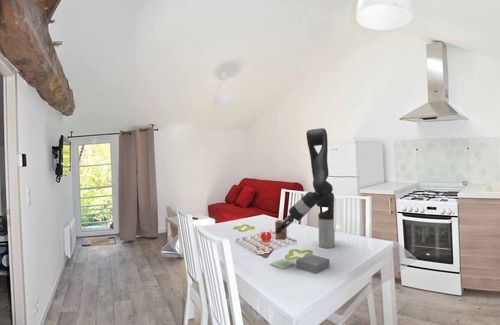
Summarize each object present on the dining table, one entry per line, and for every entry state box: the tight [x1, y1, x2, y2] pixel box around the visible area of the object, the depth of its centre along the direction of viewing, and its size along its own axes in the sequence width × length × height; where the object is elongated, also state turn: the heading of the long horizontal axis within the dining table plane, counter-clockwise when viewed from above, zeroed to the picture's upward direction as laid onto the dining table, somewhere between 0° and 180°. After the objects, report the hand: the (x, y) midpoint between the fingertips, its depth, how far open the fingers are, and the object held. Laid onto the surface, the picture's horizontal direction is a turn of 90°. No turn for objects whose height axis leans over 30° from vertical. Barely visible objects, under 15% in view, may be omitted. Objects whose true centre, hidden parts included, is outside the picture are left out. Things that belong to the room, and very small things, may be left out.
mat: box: [269, 258, 295, 270], centre depth 170 cm, size 9×9×1 cm
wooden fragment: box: [256, 250, 273, 259], centre depth 193 cm, size 26×11×1 cm, turn 176°
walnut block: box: [274, 219, 288, 241], centre depth 169 cm, size 5×5×9 cm
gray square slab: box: [295, 253, 331, 275], centre depth 165 cm, size 12×12×4 cm
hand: (277, 231), depth 170 cm, fingers closed on walnut block, 5 cm apart
